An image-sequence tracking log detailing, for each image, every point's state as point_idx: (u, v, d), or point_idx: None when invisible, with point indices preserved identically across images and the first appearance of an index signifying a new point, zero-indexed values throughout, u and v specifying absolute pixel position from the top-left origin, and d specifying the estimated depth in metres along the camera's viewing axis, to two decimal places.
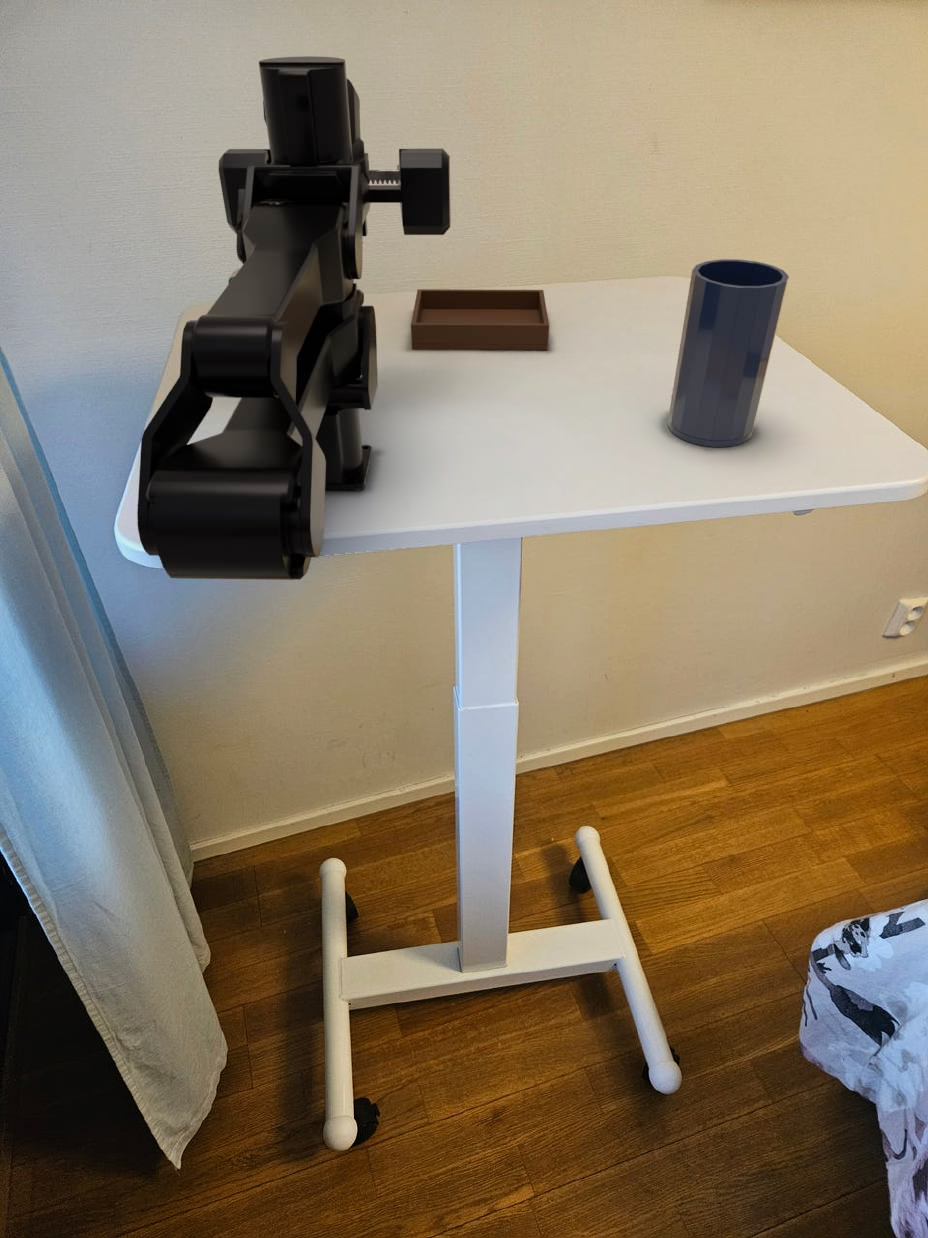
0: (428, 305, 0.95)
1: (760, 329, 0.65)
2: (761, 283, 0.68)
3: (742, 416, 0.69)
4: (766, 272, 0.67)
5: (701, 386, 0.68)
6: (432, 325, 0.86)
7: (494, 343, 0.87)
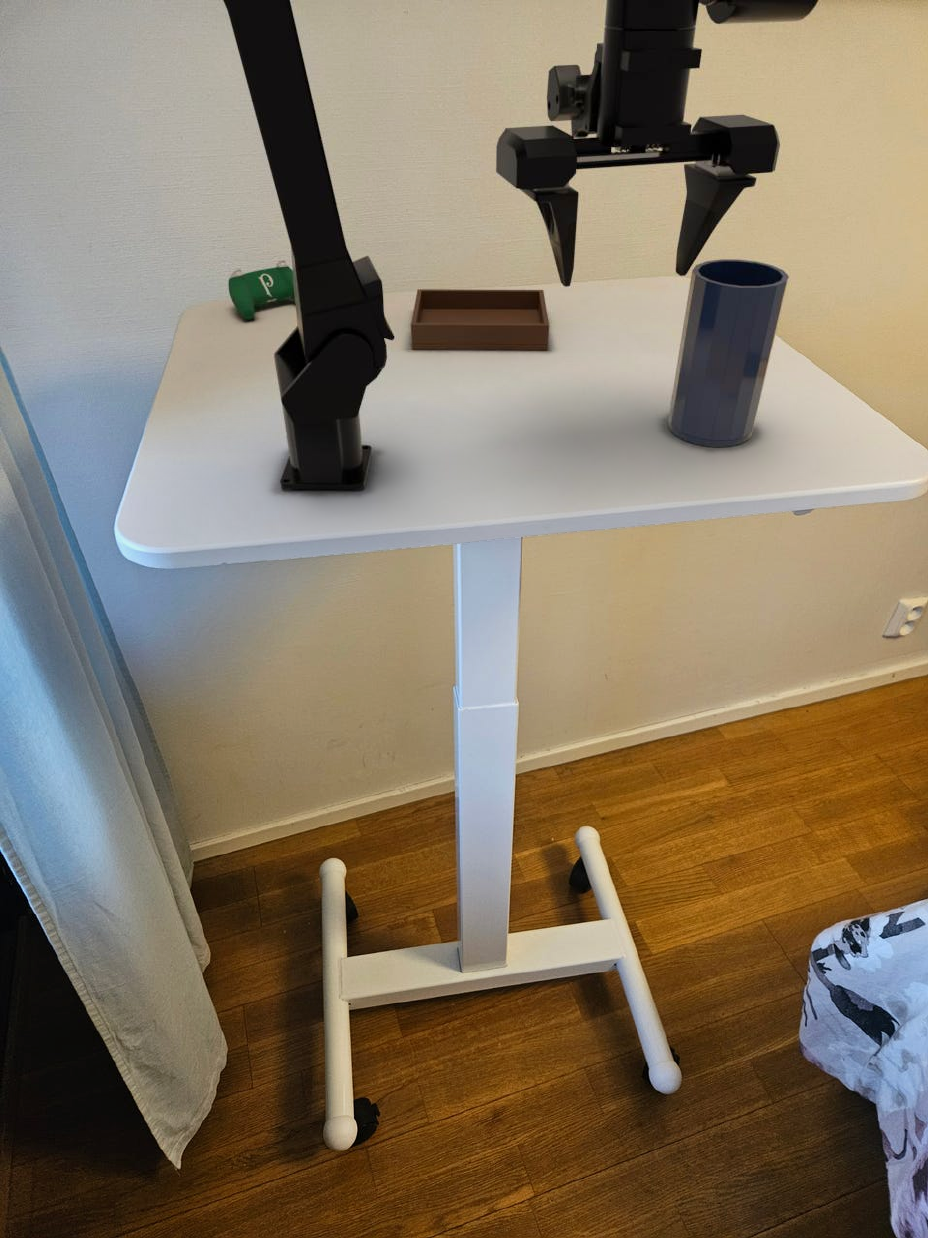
0: (428, 305, 0.95)
1: (760, 329, 0.65)
2: (761, 283, 0.68)
3: (742, 416, 0.69)
4: (766, 272, 0.67)
5: (701, 386, 0.68)
6: (432, 325, 0.86)
7: (494, 343, 0.87)
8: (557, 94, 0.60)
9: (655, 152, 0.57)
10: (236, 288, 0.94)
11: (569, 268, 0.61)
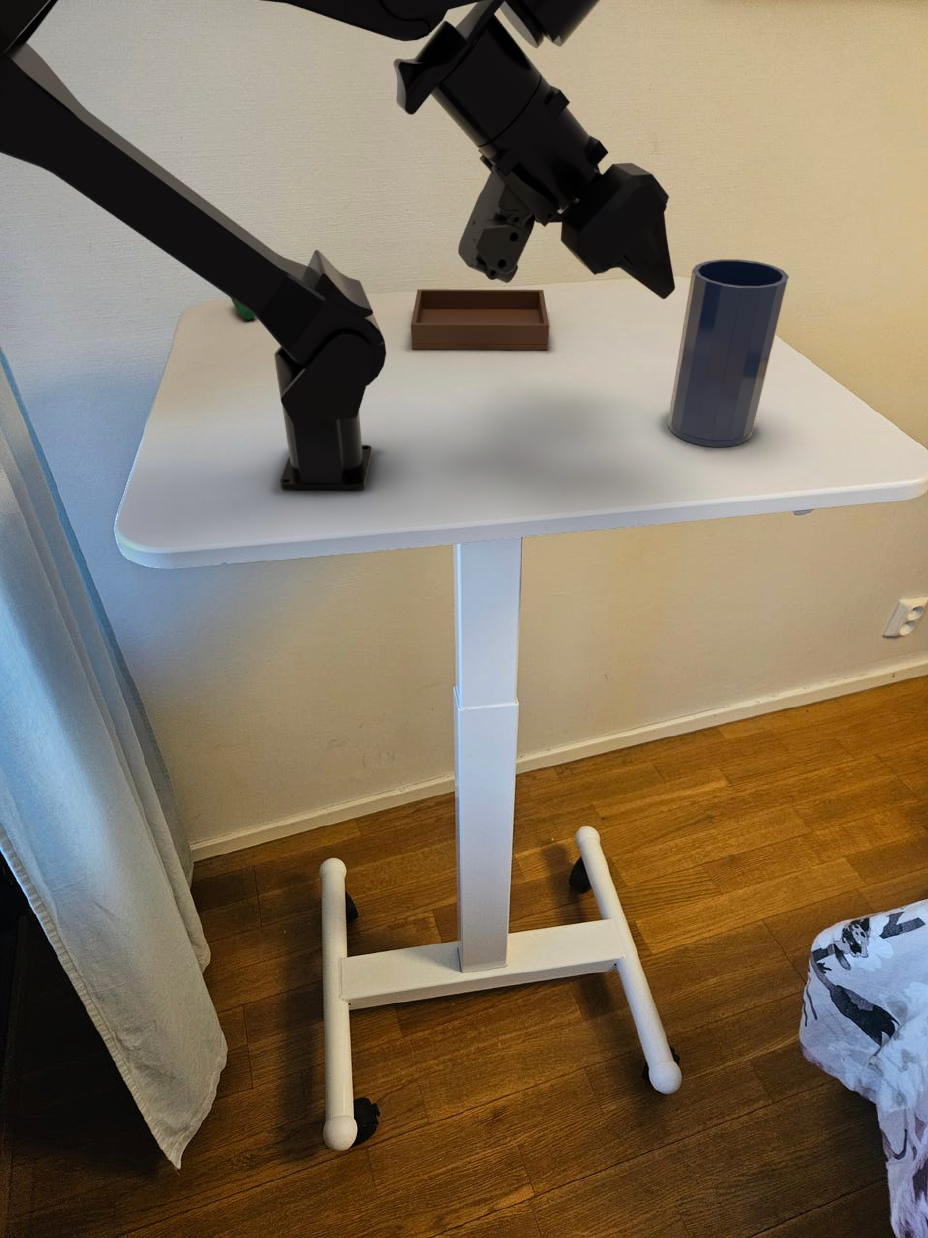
0: (428, 305, 0.95)
1: (760, 329, 0.65)
2: (761, 283, 0.68)
3: (742, 416, 0.69)
4: (766, 272, 0.67)
5: (701, 386, 0.68)
6: (432, 325, 0.86)
7: (494, 343, 0.87)
8: (511, 233, 0.56)
9: None
10: None
11: None
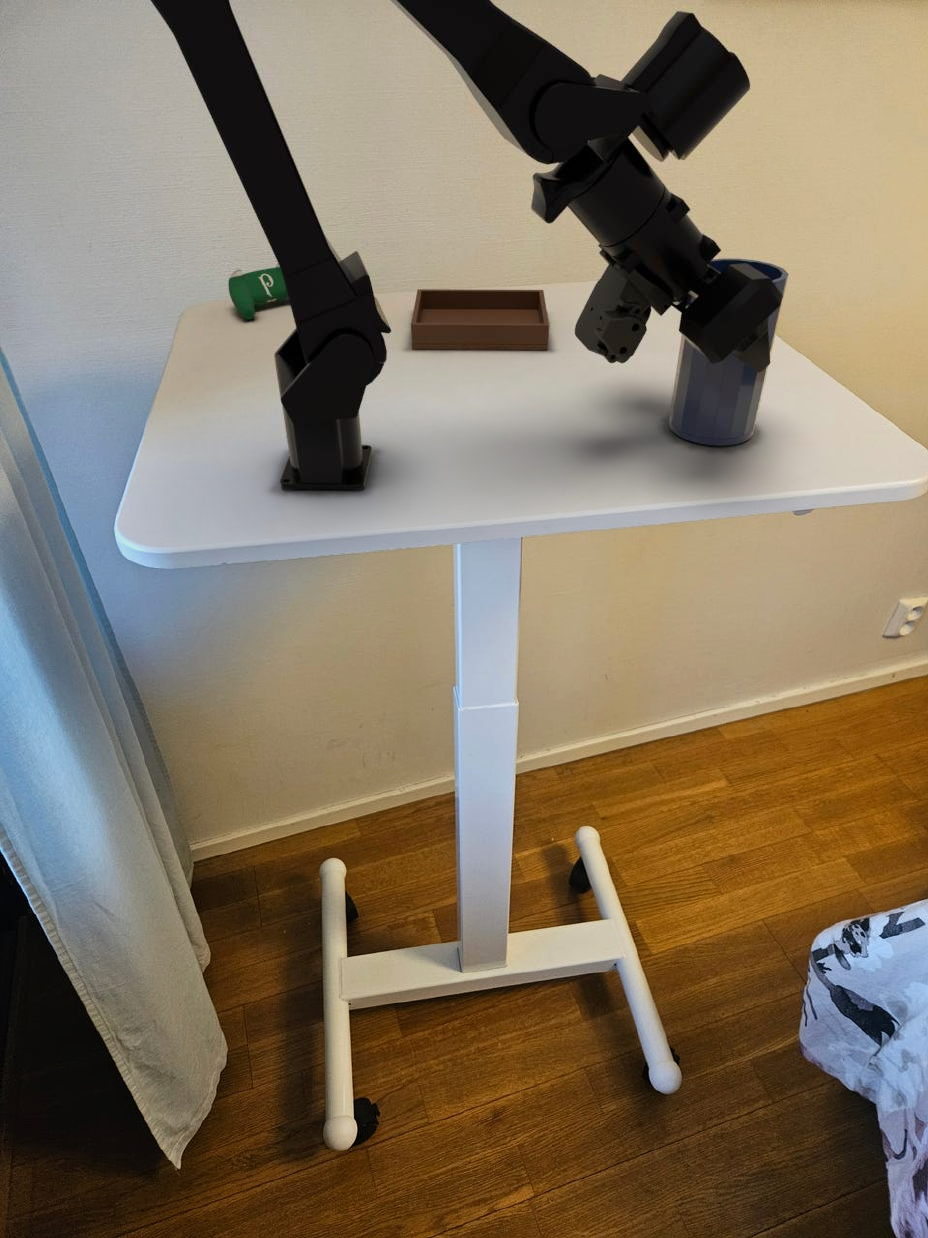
0: (428, 305, 0.95)
1: None
2: None
3: (742, 414, 0.69)
4: (766, 270, 0.67)
5: (701, 384, 0.68)
6: (432, 325, 0.86)
7: (494, 343, 0.87)
8: (633, 324, 0.61)
9: None
10: (236, 288, 0.94)
11: None
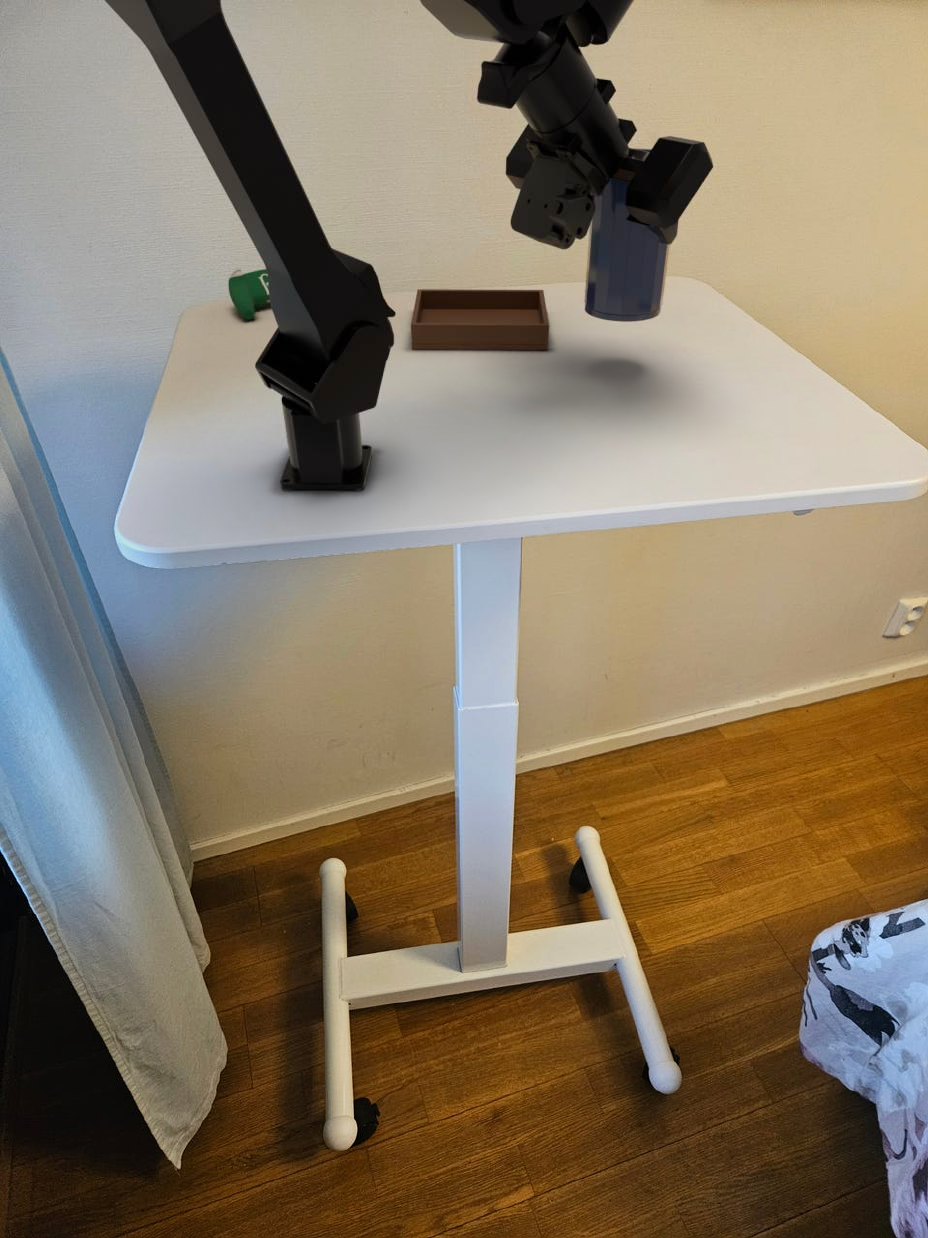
0: (428, 305, 0.95)
1: None
2: None
3: (658, 287, 0.76)
4: None
5: (624, 264, 0.74)
6: (432, 325, 0.86)
7: (494, 343, 0.87)
8: (586, 204, 0.66)
9: None
10: (236, 288, 0.94)
11: None
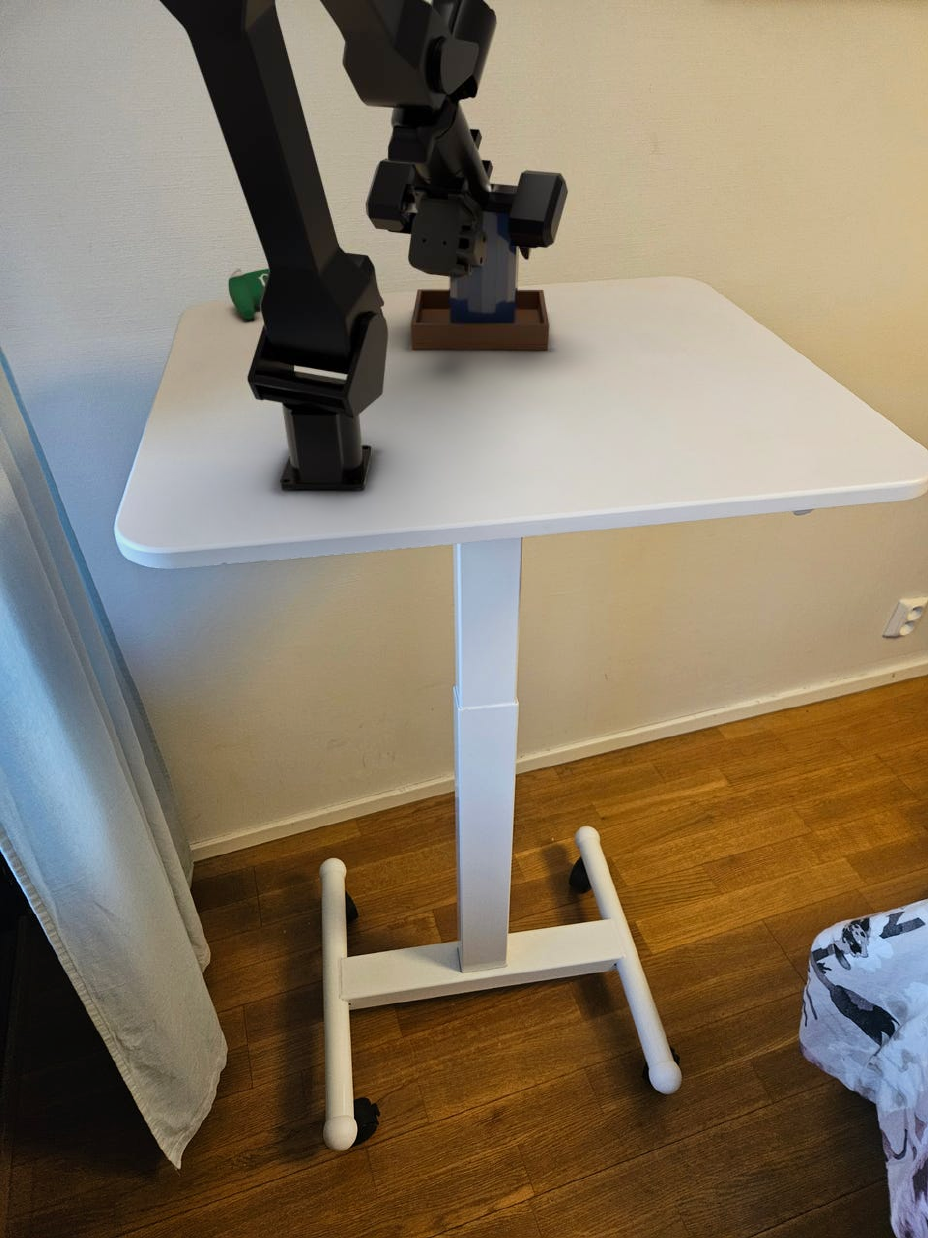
0: (428, 305, 0.95)
1: None
2: None
3: (516, 303, 0.89)
4: None
5: (493, 288, 0.85)
6: (432, 325, 0.86)
7: (494, 343, 0.87)
8: (483, 236, 0.75)
9: None
10: (236, 288, 0.94)
11: None
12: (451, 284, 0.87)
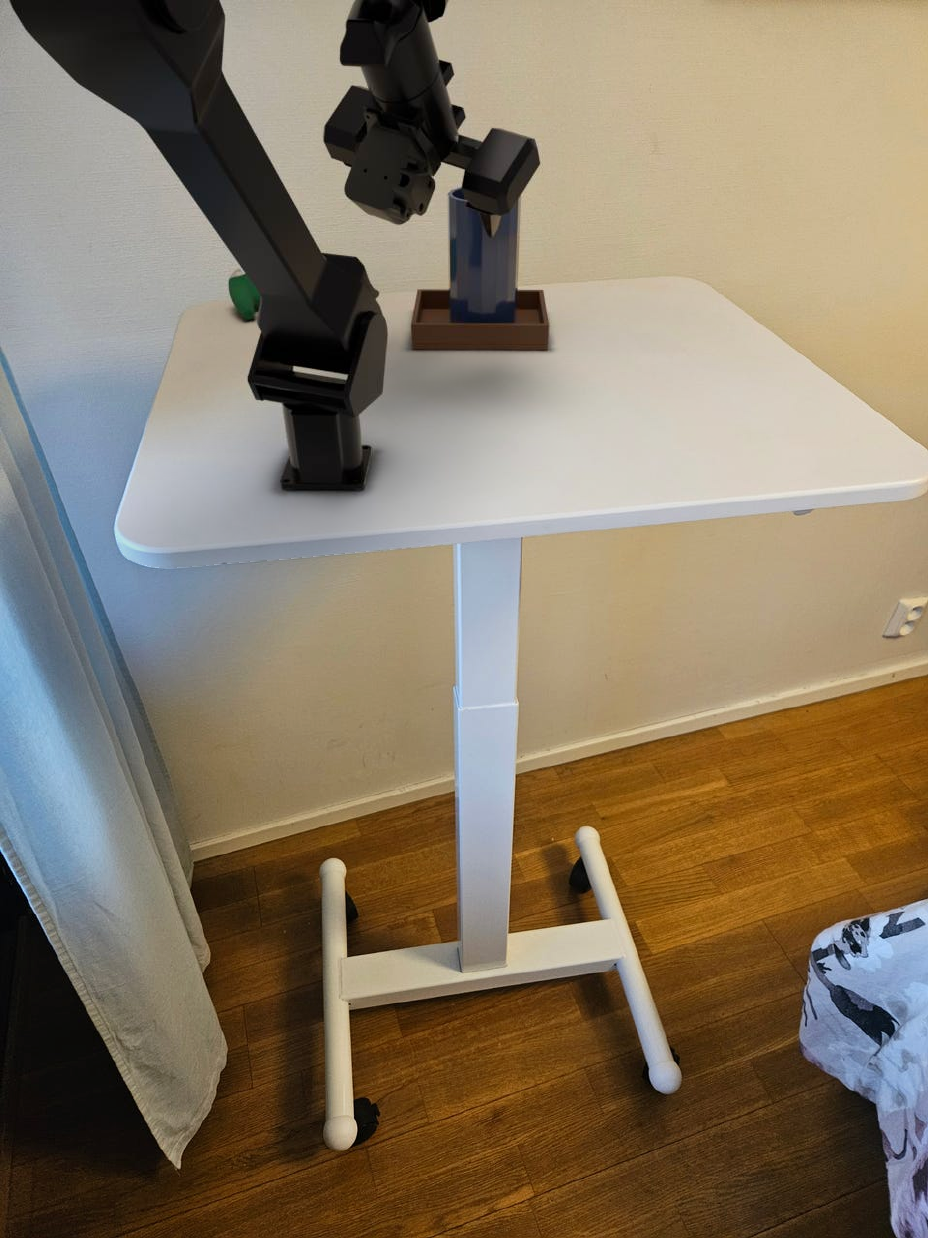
0: (428, 305, 0.95)
1: (518, 230, 0.84)
2: None
3: (516, 303, 0.89)
4: None
5: (493, 288, 0.85)
6: (432, 325, 0.86)
7: (494, 343, 0.87)
8: (429, 181, 0.66)
9: None
10: (236, 288, 0.94)
11: None
12: (451, 284, 0.87)
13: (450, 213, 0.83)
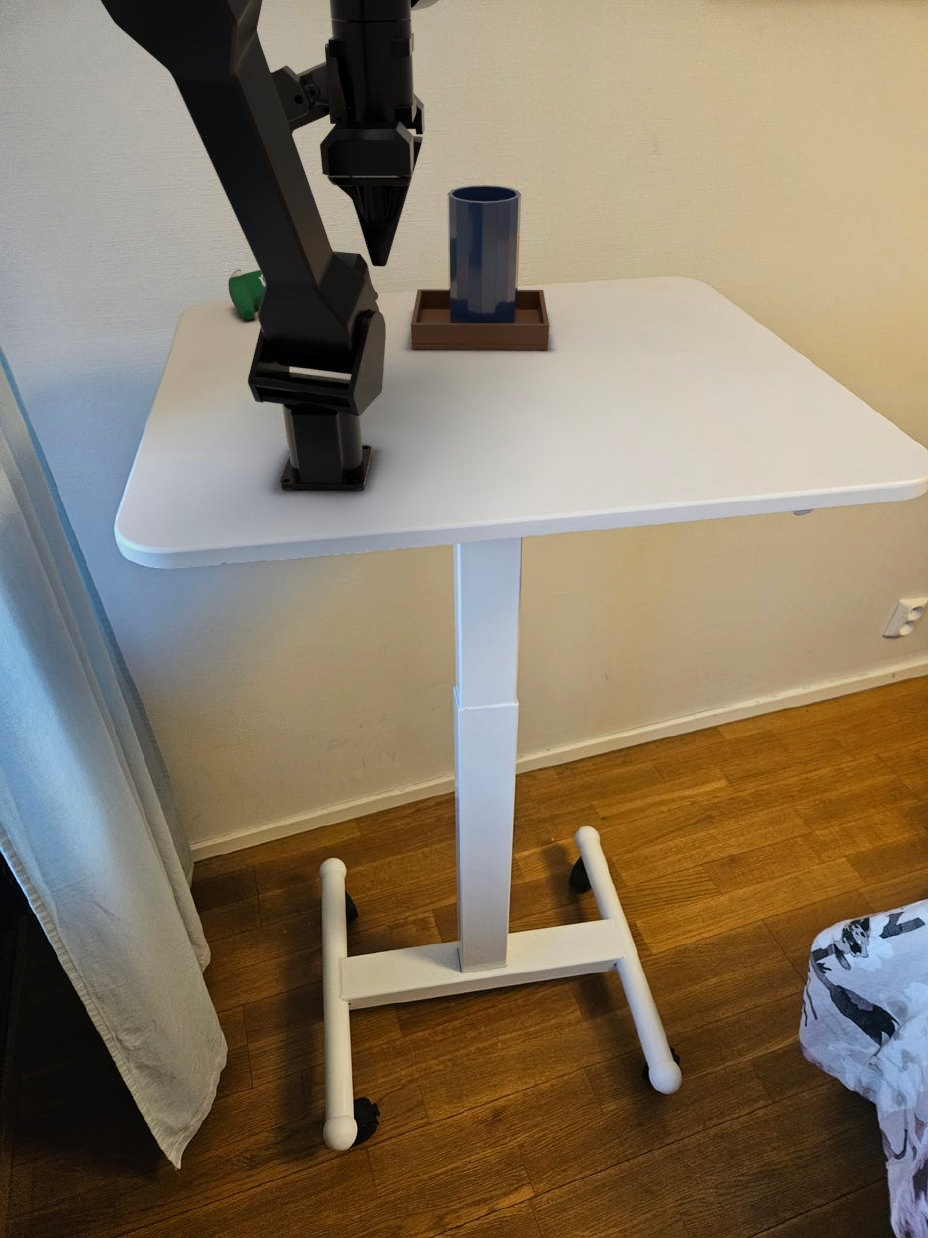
0: (428, 305, 0.95)
1: (518, 230, 0.84)
2: (482, 201, 0.86)
3: (516, 303, 0.89)
4: (484, 191, 0.86)
5: (493, 288, 0.85)
6: (432, 325, 0.86)
7: (494, 343, 0.87)
8: (298, 95, 0.60)
9: None
10: (236, 288, 0.94)
11: None
12: (451, 284, 0.87)
13: (450, 213, 0.83)
